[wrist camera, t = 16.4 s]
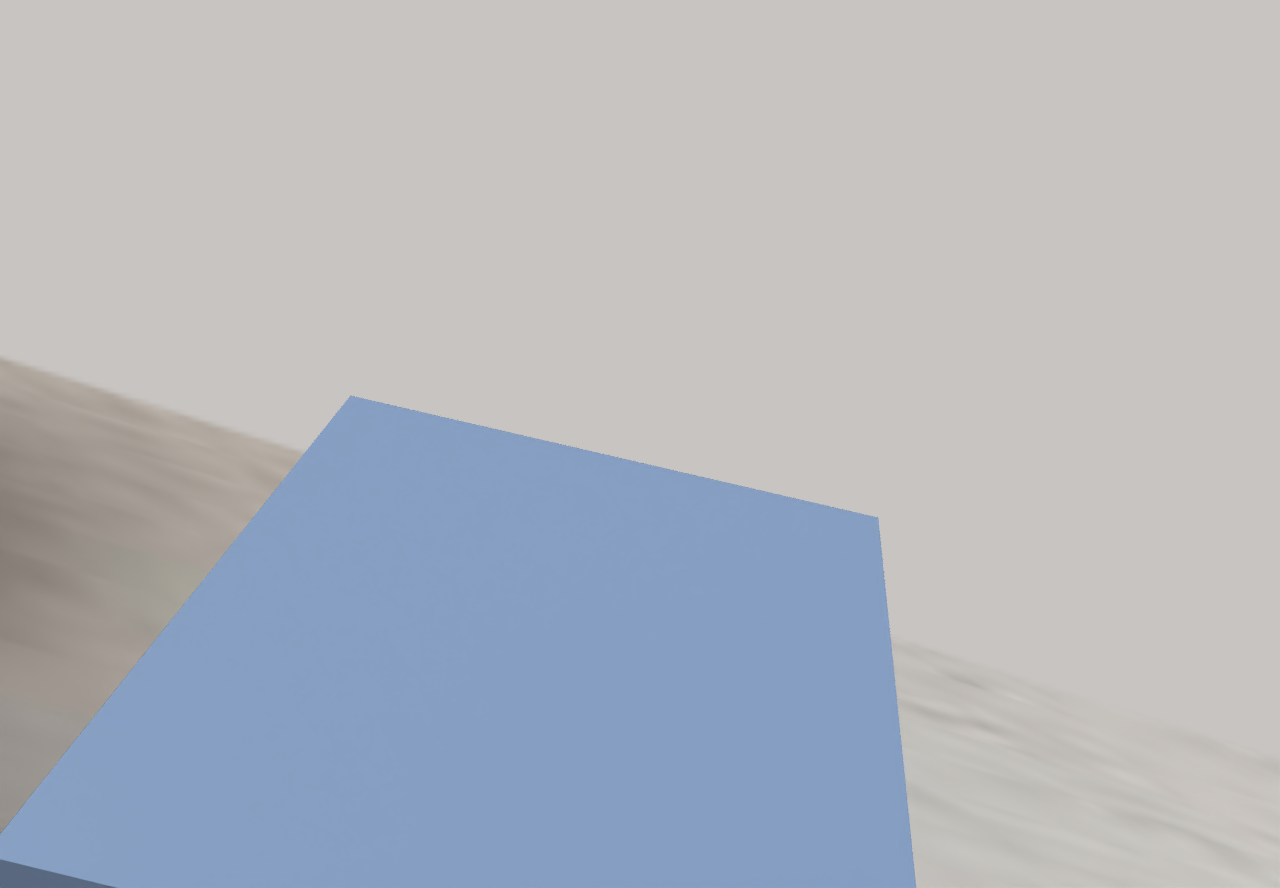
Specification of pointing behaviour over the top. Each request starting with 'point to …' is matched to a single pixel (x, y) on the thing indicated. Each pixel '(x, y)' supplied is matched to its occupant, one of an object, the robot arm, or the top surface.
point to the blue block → (498, 687)
